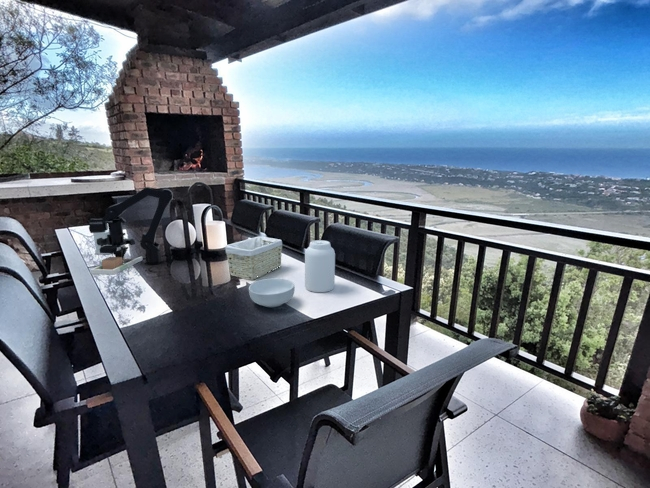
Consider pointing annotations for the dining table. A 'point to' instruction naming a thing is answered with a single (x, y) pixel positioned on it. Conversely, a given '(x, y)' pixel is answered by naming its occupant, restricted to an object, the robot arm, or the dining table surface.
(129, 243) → the robot arm
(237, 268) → the storage basket
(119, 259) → the block
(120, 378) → the dining table surface
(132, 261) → the trap lane
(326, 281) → the white jar
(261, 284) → the cereal bowl
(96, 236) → the supplement box
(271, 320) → the dining table surface
